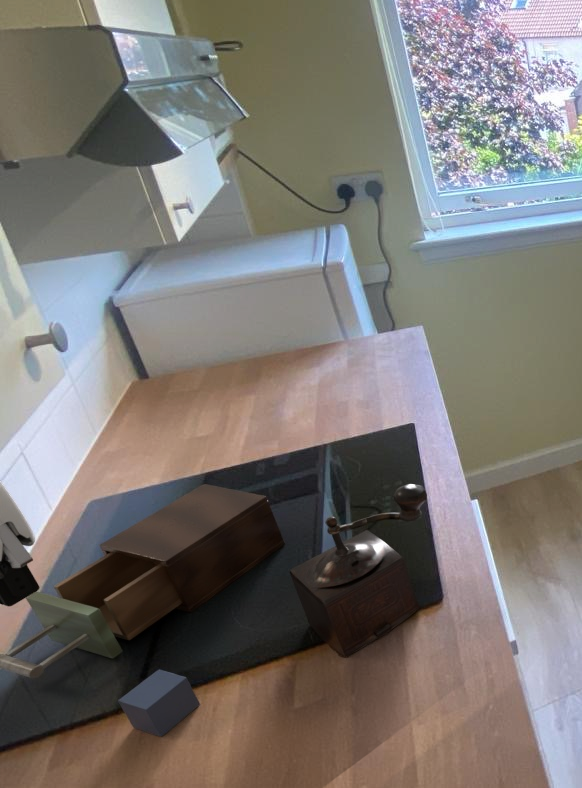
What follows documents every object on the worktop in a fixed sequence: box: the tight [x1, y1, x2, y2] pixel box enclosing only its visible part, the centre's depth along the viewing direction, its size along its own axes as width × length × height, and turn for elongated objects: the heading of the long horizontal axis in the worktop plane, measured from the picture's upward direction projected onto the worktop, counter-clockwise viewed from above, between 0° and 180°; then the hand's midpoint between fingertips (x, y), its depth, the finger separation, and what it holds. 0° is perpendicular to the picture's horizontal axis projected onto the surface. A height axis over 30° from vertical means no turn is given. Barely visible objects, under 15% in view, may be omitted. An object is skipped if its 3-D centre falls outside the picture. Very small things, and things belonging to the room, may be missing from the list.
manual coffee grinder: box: [289, 483, 428, 658], centre depth 97 cm, size 16×11×18 cm
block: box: [117, 669, 201, 738], centre depth 85 cm, size 4×4×4 cm
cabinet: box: [99, 483, 286, 614], centre depth 107 cm, size 15×13×9 cm
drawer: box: [0, 552, 182, 679], centre depth 96 cm, size 20×11×7 cm, turn 164°
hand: (20, 596), depth 87 cm, fingers closed
